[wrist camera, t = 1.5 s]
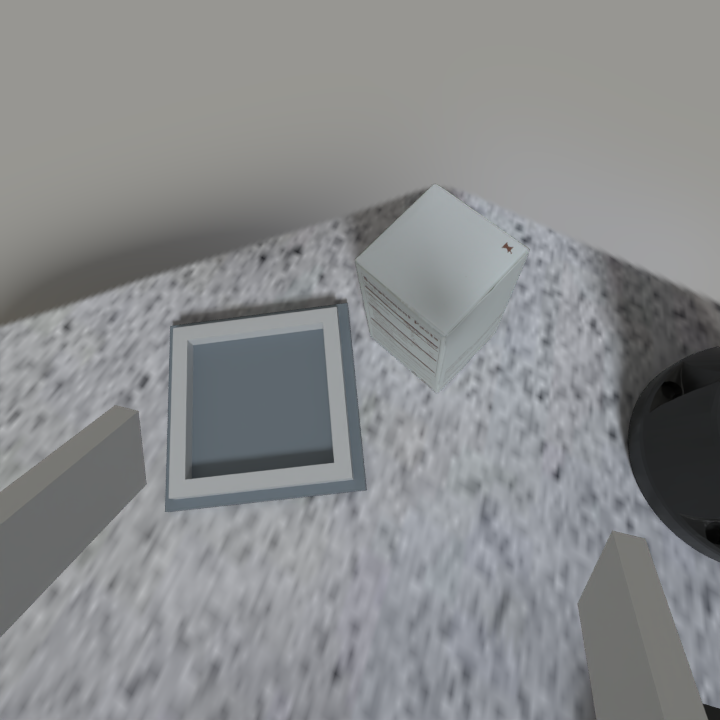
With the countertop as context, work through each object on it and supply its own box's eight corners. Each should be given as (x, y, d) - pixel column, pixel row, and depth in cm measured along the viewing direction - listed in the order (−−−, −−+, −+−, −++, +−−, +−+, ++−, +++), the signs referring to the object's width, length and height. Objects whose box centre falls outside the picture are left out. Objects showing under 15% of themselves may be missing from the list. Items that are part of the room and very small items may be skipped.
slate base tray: (348, 306, 42) (345, 296, 40) (366, 490, 37) (364, 488, 35) (173, 328, 43) (163, 320, 41) (168, 512, 38) (157, 511, 36)
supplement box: (428, 277, 42) (437, 176, 30) (498, 332, 40) (536, 248, 28) (367, 337, 41) (350, 257, 29) (435, 398, 39) (447, 339, 27)
